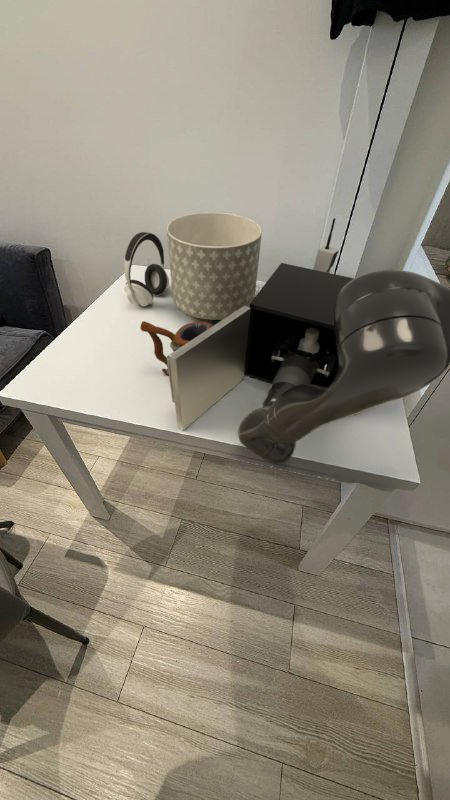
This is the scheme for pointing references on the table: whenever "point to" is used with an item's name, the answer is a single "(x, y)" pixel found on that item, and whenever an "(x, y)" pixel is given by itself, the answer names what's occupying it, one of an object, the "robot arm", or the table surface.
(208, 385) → the microwave door
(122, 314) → the table surface
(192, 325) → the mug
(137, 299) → the headphones
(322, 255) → the vintage mobile phone
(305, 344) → the pepper shaker
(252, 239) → the planter
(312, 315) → the microwave
